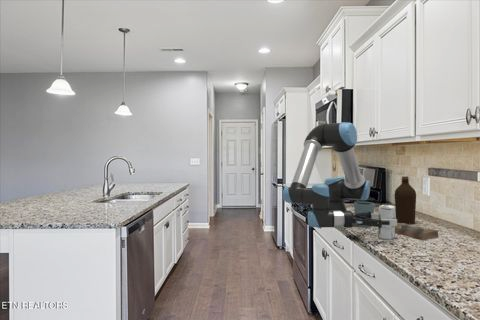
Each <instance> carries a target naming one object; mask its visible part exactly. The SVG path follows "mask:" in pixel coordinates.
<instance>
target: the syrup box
mask: <svg viewBox="0 0 480 320" xmlns="http://www.w3.org/2000/svg"><path fill="white" fill-rule="evenodd" d="M378 213H379V219H378V220H381V219H396V212H395V205H389V204H382V205H379V206H378ZM377 228H378V230H377V231H378V235H377V236H378V239H383V240H390V241H392V240H394V238H396V233H395V226H382V228H380V227H377Z"/></svg>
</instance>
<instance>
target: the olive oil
mask: <svg viewBox="0 0 480 320" xmlns="http://www.w3.org/2000/svg"><path fill="white" fill-rule="evenodd" d="M409 181H410V179H409V176H406V175H405V176H401V184H400V185H399V186H398V187H397V188H396V189H395V191H394V206H395V219H397V223H400V224H401V223H405V224H410V225H414V224H416V209H417V208H416V207H417V205H416V204H417V191H416V190H415V188H414V187H413V186H412V185H410V183H409Z"/></svg>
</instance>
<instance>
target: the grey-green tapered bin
mask: <svg viewBox="0 0 480 320" xmlns="http://www.w3.org/2000/svg"><path fill="white" fill-rule="evenodd" d="M353 207H354V208H353V209H354V210H353V211H354V214H357V213H366V212H367V213H368V212H371V213H375V203H374V202H370V201H354V202H353ZM354 225H355V226H356V227H359V228H370V227H371V228H372V227H373V226H365V225H357V224H356V223H354Z"/></svg>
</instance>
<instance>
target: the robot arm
mask: <svg viewBox="0 0 480 320" xmlns="http://www.w3.org/2000/svg"><path fill="white" fill-rule="evenodd" d="M357 141H358V132H357V129H356V126H355V125H354V123H351V122H343V121H342V122H336V123H335V122H333V123H321V124H319V125H316V126H314V127H313V128H312V130H310V131H309V133H308V134H307V136H306V138H305V140H304V142H303V150H302V153H301V156H300V158H299V161H298V165H297V168H296V170H295V173H294V176H293V179H292V181H291V184H290V186H287V187H285V188H284V189H283V191H282V199H283V201H284V202H286V203H288V204H299V205H308V206H309V205H311V207H312V208H311V210H308V211H307V224H308V226H309V227H310V228H319V229H320V228H334V229H336V230H338V228H346V229H347V228H350V229H351V228H353V225H354V224H355V223H356V224H357V225H365V226H372V227H377V228H378V227H380V228H382V226H397V219H396V218H395V219H381V220H379V212H378V213H377V212H373V213H371V212H368V213H367V212H366V213H357V214H355V213H353V212H352V211H351V210H347V207H346V204H345V200H355V201H366V200H368V199H369V197H370V192H371V181H370V180H368V179H366V178H365V176H364V175H363V174H362V173H361V170H360V166H359V162H358V160H357V156H356V153H355V150H354V147H355V145H356V144H357ZM325 146H328V147H329V146H331V147H332V149H333V151H334V152H335V153H337V156H338V159H339V162H340V165H341V169H342V172H343V174H344V175H343V176H340V177H339V176H338V177H330V178H326V179H325V180H324V184H313V185H312V186H311V188H310V187H309V188H307V187H308V184H309V182H310V181H309V180H310V178H311V176H312V173H313V172H312V171H313V169H314V166H315V163H316V161H317V157H318V154H319V152H321V151H322V148H323V147H325Z"/></svg>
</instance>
